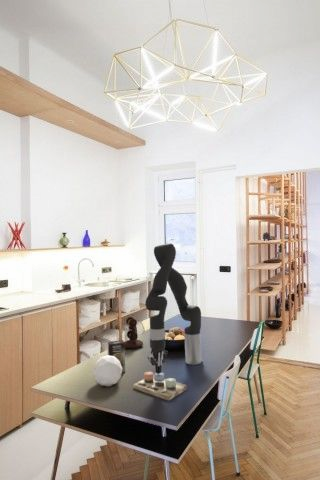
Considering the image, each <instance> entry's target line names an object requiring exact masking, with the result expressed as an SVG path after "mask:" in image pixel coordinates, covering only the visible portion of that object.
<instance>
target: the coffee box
mask: <svg viewBox="0 0 320 480" xmlns="http://www.w3.org/2000/svg"><path fill="white" fill-rule="evenodd" d="M107 355H109V356H115V357H116V358H117V359H118V360H119V361H120V363H121V366H122V373H124V372H126V348H125V343H124V339H121V340H112V341H107Z"/></svg>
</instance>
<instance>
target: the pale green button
mask: <svg viewBox="0 0 320 480" xmlns="http://www.w3.org/2000/svg"><path fill="white" fill-rule="evenodd" d="M165 379H166V380H165V384H166V387H169V388H172V387H175V386H176V382H177V379H176V378H173V377H168V378H165Z"/></svg>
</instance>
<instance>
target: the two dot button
mask: <svg viewBox="0 0 320 480" xmlns="http://www.w3.org/2000/svg"><path fill="white" fill-rule="evenodd" d="M154 374H155V373H154V372H153V371H146V372H143V379H144V380H148V381H149V380H153V379H154Z"/></svg>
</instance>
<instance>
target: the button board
mask: <svg viewBox="0 0 320 480" xmlns="http://www.w3.org/2000/svg"><path fill="white" fill-rule="evenodd" d="M166 379H167V378H165V380H166ZM165 380H164V381H159V382H158V381H155V380H154V379H153V380H149V381H148V380H144V378H142V379H141V380H139V381H137V382H136V383H133V384H132V386H133V389H135V390H137V391H140V392H143V393H145V394H148V395H151V396H154V397H156V398H160V399H162V400H165V401H170V400H172V399H173V398H174V399H175V397H177V396H178V395H180V394H182V393H183V392H185V391H186V390H188V389H187V385H186V384H184V383H181V382H177V381H176V386H175V387H172V388H169V387H166V384H165Z"/></svg>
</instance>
